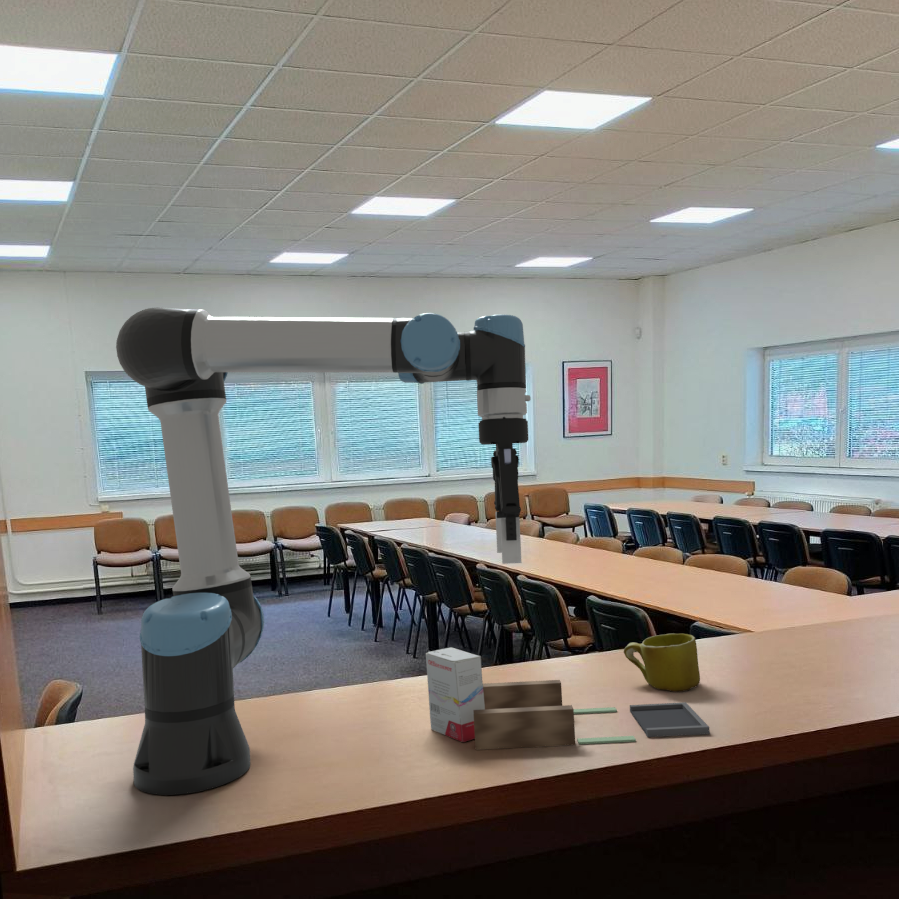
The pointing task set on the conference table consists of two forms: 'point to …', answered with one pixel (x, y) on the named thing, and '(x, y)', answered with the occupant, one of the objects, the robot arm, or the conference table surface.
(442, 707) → the ink box
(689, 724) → the grey flat tray
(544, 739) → the tunnel walls
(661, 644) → the mug
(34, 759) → the conference table surface
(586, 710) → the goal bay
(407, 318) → the robot arm
